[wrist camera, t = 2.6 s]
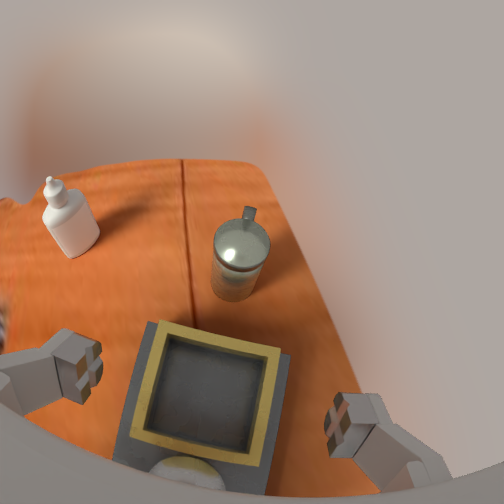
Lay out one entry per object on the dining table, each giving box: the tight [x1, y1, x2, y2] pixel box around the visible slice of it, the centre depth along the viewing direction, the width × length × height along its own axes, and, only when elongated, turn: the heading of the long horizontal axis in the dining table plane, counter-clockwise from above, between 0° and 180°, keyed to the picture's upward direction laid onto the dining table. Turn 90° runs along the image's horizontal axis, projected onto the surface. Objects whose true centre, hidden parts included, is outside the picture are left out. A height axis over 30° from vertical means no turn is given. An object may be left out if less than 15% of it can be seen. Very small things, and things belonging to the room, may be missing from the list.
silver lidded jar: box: [211, 206, 270, 302], centre depth 31 cm, size 5×7×9 cm
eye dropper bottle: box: [42, 176, 100, 259], centre depth 29 cm, size 4×6×12 cm
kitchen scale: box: [112, 319, 291, 495], centre depth 23 cm, size 20×14×6 cm
